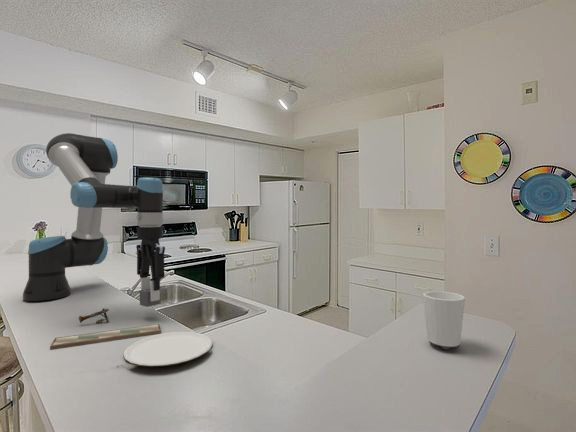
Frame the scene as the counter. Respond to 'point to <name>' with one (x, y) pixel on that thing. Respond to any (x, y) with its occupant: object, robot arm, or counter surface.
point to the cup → (444, 318)
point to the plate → (168, 349)
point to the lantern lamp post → (96, 315)
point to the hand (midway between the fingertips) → (150, 298)
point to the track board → (105, 336)
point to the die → (147, 298)
